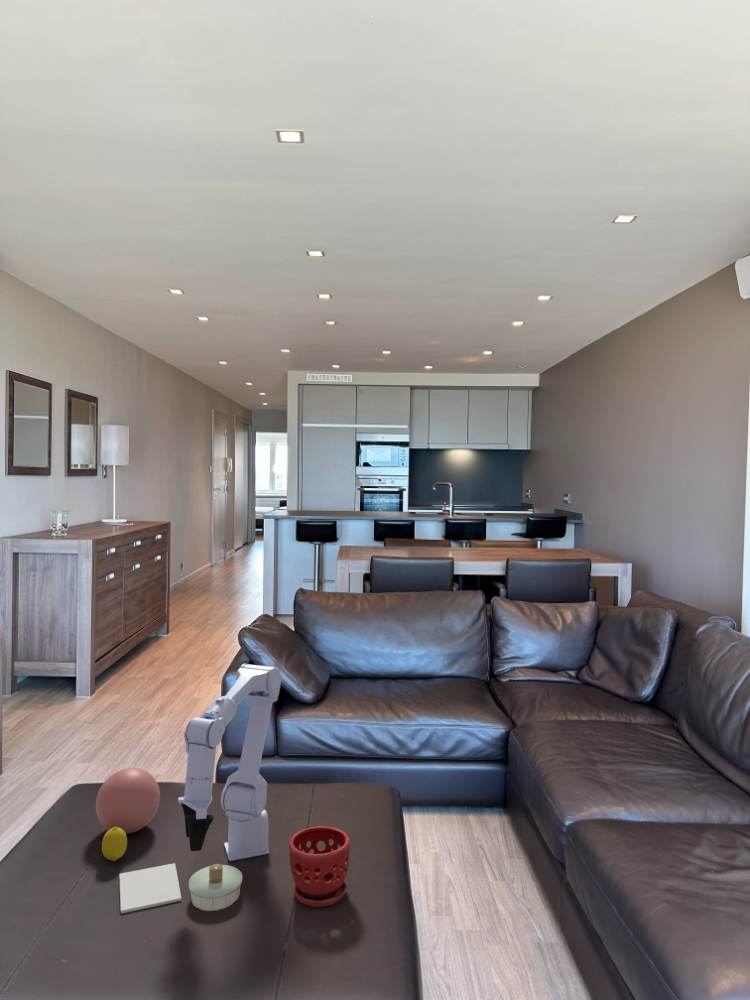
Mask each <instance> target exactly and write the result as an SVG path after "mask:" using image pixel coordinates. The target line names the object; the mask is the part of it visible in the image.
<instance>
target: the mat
mask: <svg viewBox="0 0 750 1000" xmlns="http://www.w3.org/2000/svg"><path fill="white" fill-rule="evenodd" d="M181 894H182V893H181V889H180V883H179V877H178V871H177V867H176V862H174V863H168V864H164V865H163V864H162V865H159V866H153V867H148V868H147V867H146V868H143V869H138V870H132V871H127V872H121V873H119V897H120V902H119V903H120V914H126V913H131V912H134V911H140V910H144V909H150V908H154V907H159V906H163V905H168V904H171V903H176V902H177V901H178V902H182V895H181Z"/></svg>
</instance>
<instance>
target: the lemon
mask: <svg viewBox="0 0 750 1000" xmlns="http://www.w3.org/2000/svg"><path fill="white" fill-rule="evenodd" d="M127 837H128V836H127V834H126V833H125V832H124V830H122V829H121V828H118V827H113V828H112V829H110V830H108V829H107V831H106V832H105V834H104V835H103V838H102V842H101V852H102V855H103V856H104V857H105V859H107V860H109V861H112V862H116V861H117V860H119V859H120V858H122V857H123V855H124V854H125V853H126V850H127V848H128V838H127Z"/></svg>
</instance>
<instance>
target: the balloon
mask: <svg viewBox="0 0 750 1000" xmlns="http://www.w3.org/2000/svg"><path fill="white" fill-rule="evenodd" d="M160 801H161V790H160V787H159V784H158V782H157V780H156V778H155V777H154V776H153V775H152V774H151V773H149V771H147V770H145V769H142V768H137V767H129V768H128V767H127V768H123V769H120V770H117V771H115V772H114V773H113V774H111V775H110V776H108V778H107V779H106V780H105V781H104V782H103V783H102V785H101V786H100V788H99V790H98V791H97V796H96V800H95V811H96V812H95V813H96V816H97V819H98V821H99V822H100V824H101V825H102V826H103V827H104V828H105V829H106V830H107V831H108V830H110V829H112V828H113V827H118V828H121V829H122V830H124V832H125V833H126V835H129V834H133V833H136V832H138V831H140V830H141V829H143V828H145V827H146V826H147V825H148V824H149V823H150V822H151V821H152V820H153V818H154V817H155V816H156V814H157V811H158V810H159V808H160V807H159V806H160Z"/></svg>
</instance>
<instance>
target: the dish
mask: <svg viewBox="0 0 750 1000" xmlns="http://www.w3.org/2000/svg"><path fill="white" fill-rule="evenodd" d="M240 893H241V886H240V887H239V888H238V889H237V890H236V891H234V892H233V893H231V894H229V895H226V896H223V897H219V898H201V897H198V896H196V895H194V894H192V893H191V892H190V897H191V898H190V900H191V904H192V905H193V907H195V908H196V909H198V908H199V909H198V910H201V911H204V912H205V911H206V912H215V911H221V910H224V909H227V908H229V907H231V906H232V905H233V903H234V902H235V901H236V900H237V901H238V899H239V897H240ZM237 901H236V902H237ZM236 902H235V903H236ZM235 903H234V904H235ZM230 905H231V906H230ZM226 907H227V908H226ZM220 909H221V910H220Z"/></svg>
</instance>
